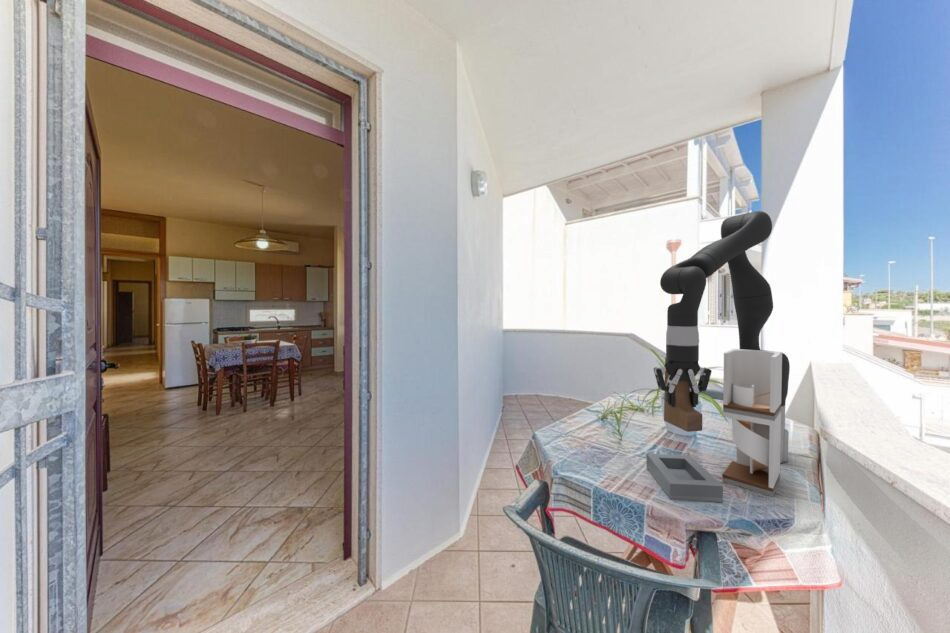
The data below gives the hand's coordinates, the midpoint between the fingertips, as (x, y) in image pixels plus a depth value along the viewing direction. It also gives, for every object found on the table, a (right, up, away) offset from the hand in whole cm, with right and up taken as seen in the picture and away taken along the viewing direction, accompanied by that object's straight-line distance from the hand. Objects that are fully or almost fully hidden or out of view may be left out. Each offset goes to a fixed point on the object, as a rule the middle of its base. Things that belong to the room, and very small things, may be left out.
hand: (681, 405), depth 96 cm
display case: (+19, -21, +1) cm, 29 cm away
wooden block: (0, -6, 0) cm, 6 cm away
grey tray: (0, -21, +1) cm, 21 cm away
